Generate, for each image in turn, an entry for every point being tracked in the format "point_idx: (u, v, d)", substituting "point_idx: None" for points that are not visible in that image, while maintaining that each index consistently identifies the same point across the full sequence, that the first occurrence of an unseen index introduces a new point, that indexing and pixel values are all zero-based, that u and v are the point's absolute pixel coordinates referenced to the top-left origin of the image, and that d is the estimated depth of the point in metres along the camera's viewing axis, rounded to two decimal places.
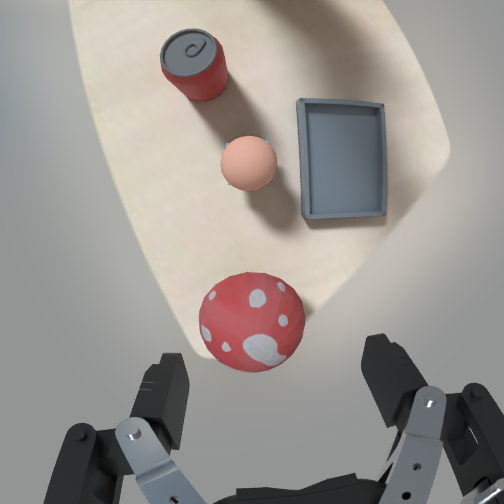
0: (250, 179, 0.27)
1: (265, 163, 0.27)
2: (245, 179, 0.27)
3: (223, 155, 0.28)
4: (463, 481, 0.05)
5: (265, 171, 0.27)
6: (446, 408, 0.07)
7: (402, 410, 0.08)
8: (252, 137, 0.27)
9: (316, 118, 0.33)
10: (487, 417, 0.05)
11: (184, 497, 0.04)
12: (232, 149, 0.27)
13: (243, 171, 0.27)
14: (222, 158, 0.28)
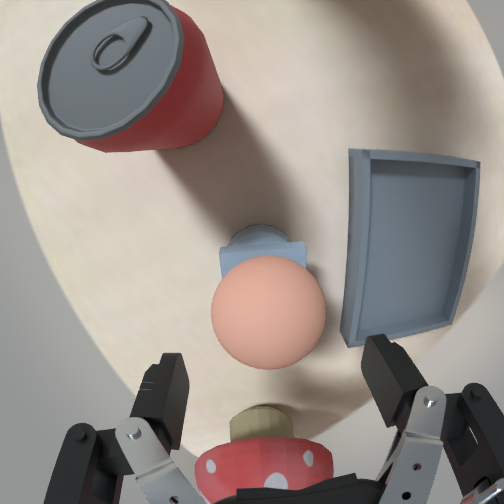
0: (274, 367, 0.13)
1: (307, 340, 0.12)
2: (264, 367, 0.13)
3: (216, 310, 0.13)
4: (463, 481, 0.05)
5: (305, 351, 0.13)
6: (446, 408, 0.07)
7: (402, 410, 0.08)
8: (280, 273, 0.13)
9: (383, 184, 0.19)
10: (487, 417, 0.05)
11: (184, 497, 0.04)
12: (234, 307, 0.12)
13: (260, 359, 0.12)
14: (214, 314, 0.13)
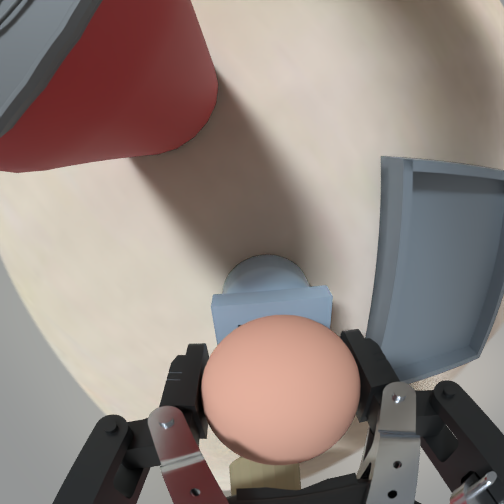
0: None
1: (336, 438, 0.07)
2: None
3: (206, 398, 0.08)
4: (448, 477, 0.05)
5: None
6: (417, 405, 0.07)
7: (372, 405, 0.08)
8: (302, 354, 0.08)
9: (422, 202, 0.14)
10: (464, 414, 0.06)
11: (205, 490, 0.05)
12: (233, 406, 0.07)
13: (270, 462, 0.07)
14: (204, 402, 0.08)
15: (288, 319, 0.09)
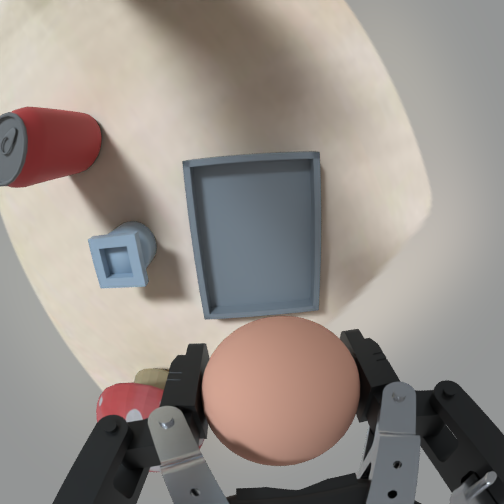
0: None
1: (336, 439, 0.07)
2: (274, 465, 0.08)
3: (206, 399, 0.08)
4: (448, 477, 0.05)
5: None
6: (417, 405, 0.07)
7: (372, 405, 0.08)
8: (302, 356, 0.08)
9: (213, 184, 0.25)
10: (464, 414, 0.06)
11: (205, 490, 0.05)
12: (233, 407, 0.07)
13: (270, 463, 0.07)
14: (204, 403, 0.08)
15: (288, 320, 0.09)
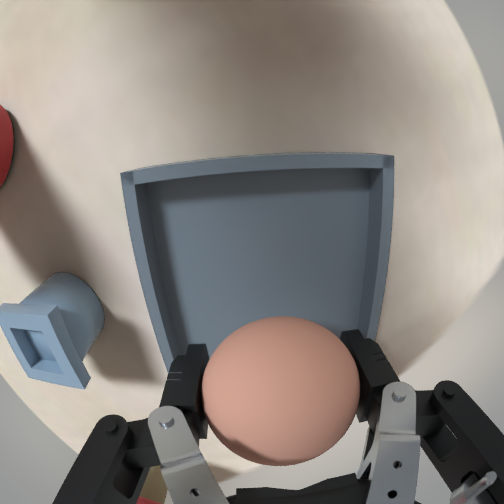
0: None
1: (336, 439, 0.07)
2: (274, 465, 0.08)
3: (207, 399, 0.08)
4: (448, 477, 0.05)
5: (330, 447, 0.08)
6: (417, 405, 0.07)
7: (372, 405, 0.08)
8: (302, 356, 0.08)
9: (186, 215, 0.13)
10: (464, 414, 0.06)
11: (205, 490, 0.05)
12: (233, 407, 0.07)
13: (270, 463, 0.07)
14: (204, 403, 0.08)
15: (288, 321, 0.09)
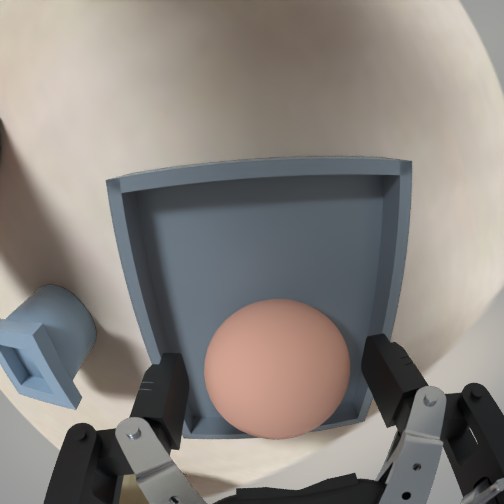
0: (283, 438, 0.09)
1: (328, 411, 0.09)
2: None
3: (209, 373, 0.09)
4: (463, 481, 0.05)
5: (323, 421, 0.09)
6: (446, 408, 0.07)
7: (402, 410, 0.08)
8: (295, 331, 0.09)
9: (180, 227, 0.12)
10: (487, 417, 0.05)
11: (184, 497, 0.04)
12: (234, 378, 0.09)
13: (267, 434, 0.08)
14: (207, 378, 0.10)
15: (283, 302, 0.11)
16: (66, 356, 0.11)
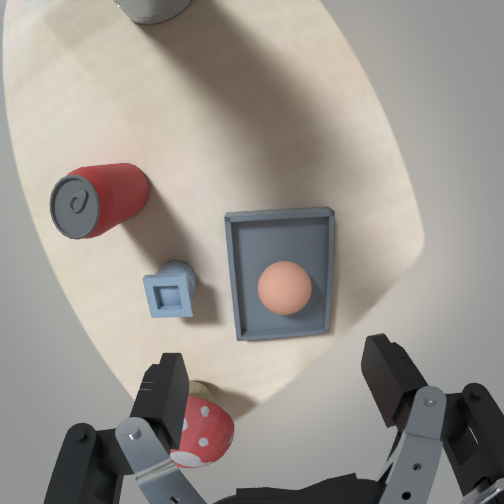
0: (287, 311, 0.29)
1: (302, 297, 0.29)
2: (283, 311, 0.29)
3: (261, 285, 0.30)
4: (463, 481, 0.05)
5: (301, 304, 0.29)
6: (446, 408, 0.07)
7: (402, 410, 0.08)
8: (290, 268, 0.29)
9: (248, 234, 0.32)
10: (487, 417, 0.05)
11: (184, 497, 0.04)
12: (271, 282, 0.29)
13: (282, 306, 0.29)
14: (260, 287, 0.30)
15: (286, 261, 0.31)
16: (191, 290, 0.31)
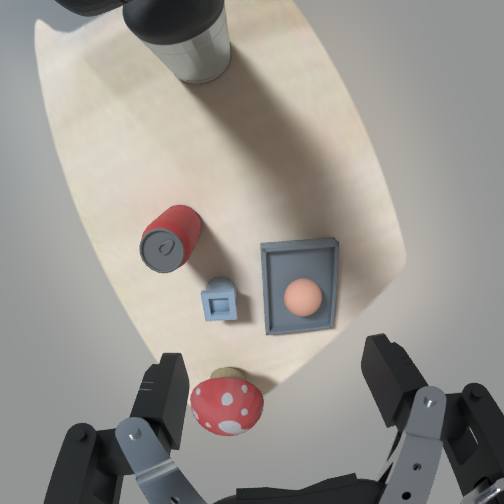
0: (305, 314, 0.42)
1: (316, 304, 0.41)
2: (302, 314, 0.42)
3: (287, 296, 0.42)
4: (463, 481, 0.05)
5: (315, 309, 0.42)
6: (446, 408, 0.07)
7: (402, 410, 0.08)
8: (308, 284, 0.42)
9: (277, 259, 0.44)
10: (487, 417, 0.05)
11: (184, 497, 0.04)
12: (295, 295, 0.41)
13: (302, 311, 0.41)
14: (286, 298, 0.42)
15: (304, 278, 0.43)
16: (236, 300, 0.44)
